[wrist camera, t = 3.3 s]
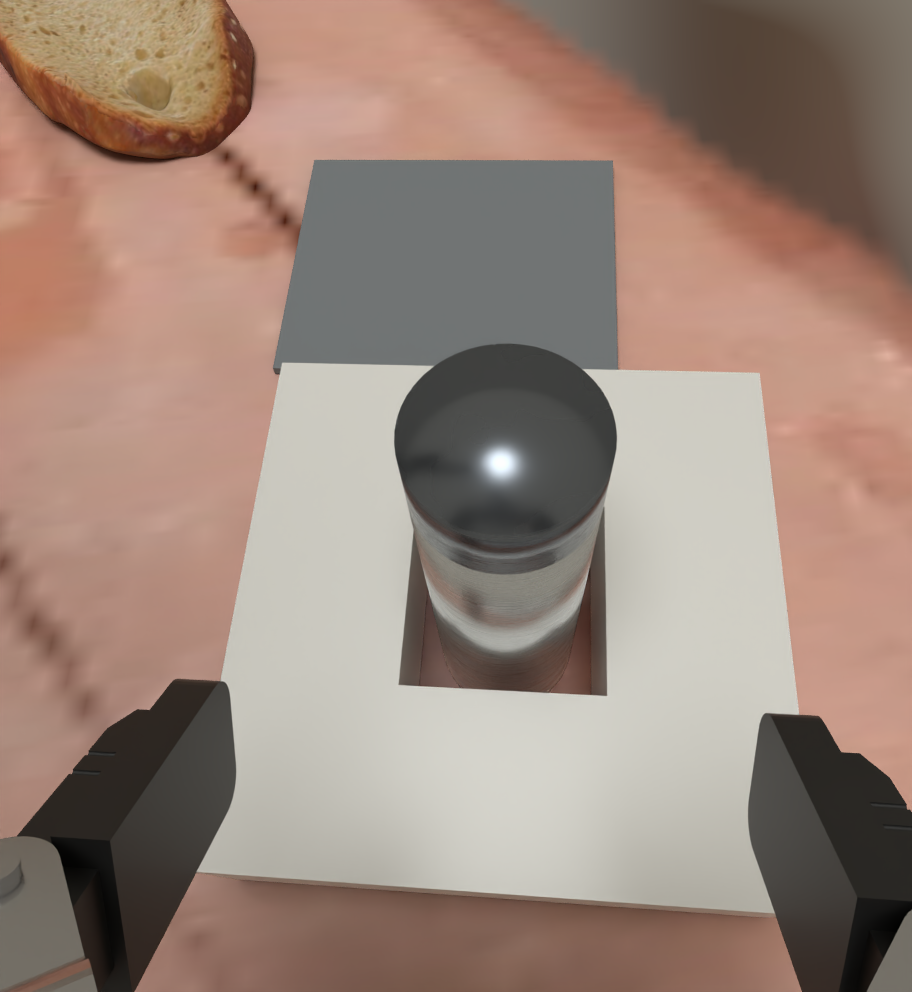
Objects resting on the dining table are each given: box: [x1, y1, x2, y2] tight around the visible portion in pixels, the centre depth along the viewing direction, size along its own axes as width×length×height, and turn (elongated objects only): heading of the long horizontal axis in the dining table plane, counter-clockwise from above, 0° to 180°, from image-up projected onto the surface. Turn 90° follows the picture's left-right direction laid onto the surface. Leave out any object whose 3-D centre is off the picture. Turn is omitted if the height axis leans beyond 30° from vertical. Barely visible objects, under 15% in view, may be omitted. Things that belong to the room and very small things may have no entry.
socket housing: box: [196, 363, 799, 918], centre depth 27 cm, size 16×16×5 cm
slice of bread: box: [0, 0, 253, 159], centre depth 44 cm, size 18×18×4 cm
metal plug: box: [394, 343, 617, 693], centre depth 23 cm, size 4×4×14 cm
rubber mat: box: [273, 160, 618, 374], centre depth 37 cm, size 14×12×1 cm
